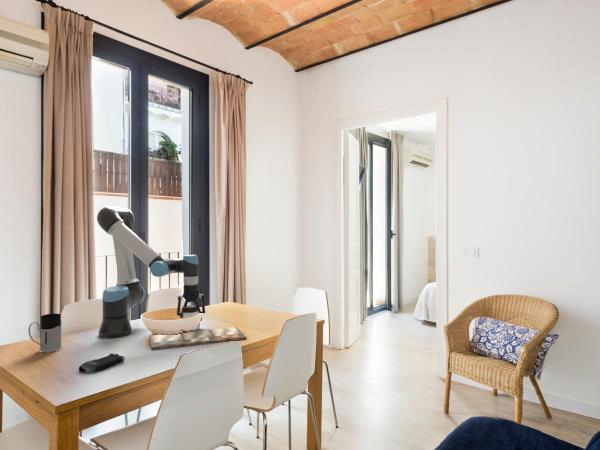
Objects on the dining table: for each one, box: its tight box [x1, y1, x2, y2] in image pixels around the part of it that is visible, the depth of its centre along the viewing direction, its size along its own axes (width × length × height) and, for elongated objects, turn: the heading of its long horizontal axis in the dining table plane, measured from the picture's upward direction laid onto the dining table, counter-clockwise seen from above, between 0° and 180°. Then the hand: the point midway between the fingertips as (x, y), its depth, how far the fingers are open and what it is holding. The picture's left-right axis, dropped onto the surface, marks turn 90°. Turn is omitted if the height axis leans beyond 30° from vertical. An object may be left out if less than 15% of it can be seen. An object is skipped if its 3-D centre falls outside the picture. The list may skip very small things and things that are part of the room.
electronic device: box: [78, 352, 126, 374], centre depth 153 cm, size 9×6×15 cm
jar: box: [181, 304, 200, 331], centre depth 208 cm, size 9×8×12 cm
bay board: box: [149, 326, 248, 351], centre depth 191 cm, size 43×20×1 cm, turn 113°
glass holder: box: [28, 313, 63, 353], centre depth 171 cm, size 9×14×15 cm, turn 160°
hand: (191, 327), depth 208 cm, fingers closed on jar, 7 cm apart
